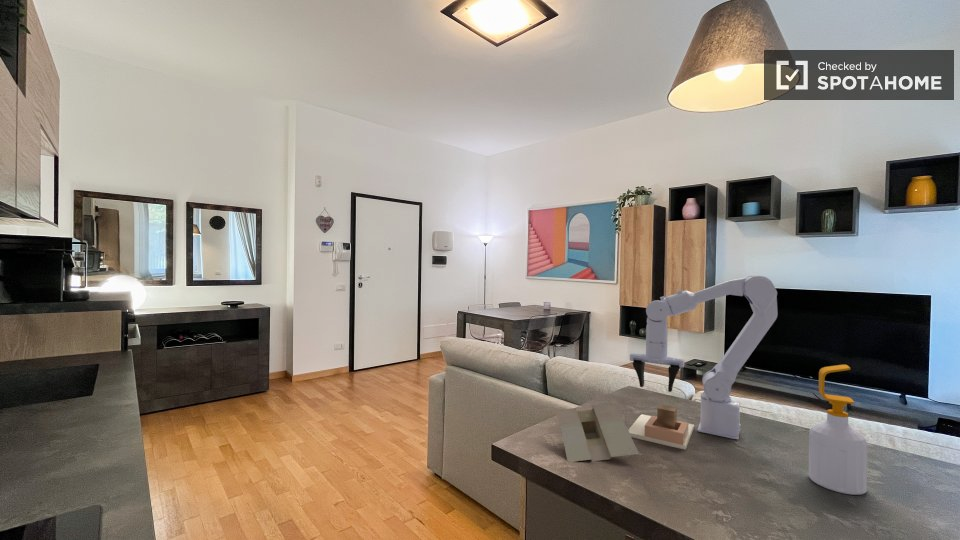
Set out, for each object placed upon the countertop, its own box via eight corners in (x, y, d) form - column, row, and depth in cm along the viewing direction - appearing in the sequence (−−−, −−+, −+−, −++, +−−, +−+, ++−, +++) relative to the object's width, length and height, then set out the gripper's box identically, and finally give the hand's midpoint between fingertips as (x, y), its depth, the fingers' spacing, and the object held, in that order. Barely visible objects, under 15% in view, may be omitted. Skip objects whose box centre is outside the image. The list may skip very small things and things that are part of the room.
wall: (636, 470, 97) (617, 412, 108) (641, 453, 91) (620, 394, 103) (567, 478, 98) (555, 420, 109) (567, 462, 92) (554, 402, 103)
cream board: (694, 428, 114) (694, 424, 114) (685, 449, 100) (685, 445, 100) (641, 417, 121) (641, 414, 121) (626, 436, 107) (626, 432, 107)
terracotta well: (688, 433, 107) (688, 422, 107) (683, 445, 100) (683, 433, 100) (651, 425, 112) (651, 415, 112) (644, 436, 105) (644, 425, 105)
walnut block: (676, 434, 107) (676, 407, 107) (673, 439, 103) (674, 411, 103) (659, 430, 109) (660, 404, 109) (656, 435, 106) (657, 408, 106)
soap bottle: (872, 501, 78) (874, 372, 78) (811, 487, 83) (813, 365, 83) (860, 481, 86) (862, 364, 86) (805, 469, 91) (807, 358, 91)
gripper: (627, 340, 120) (626, 387, 120) (682, 346, 112) (681, 396, 111) (633, 337, 125) (632, 382, 125) (685, 343, 117) (684, 390, 117)
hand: (655, 388), depth 119 cm, fingers open, 7 cm apart
